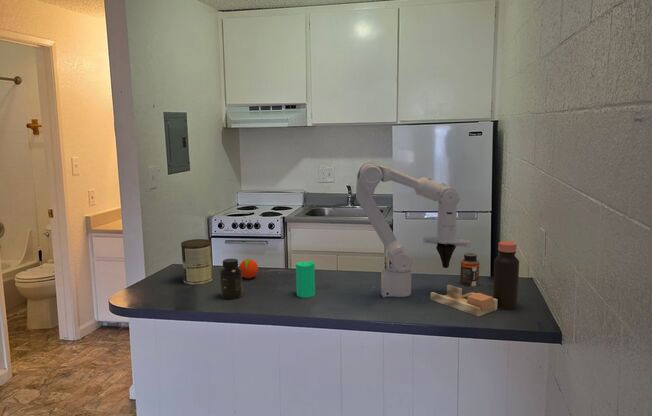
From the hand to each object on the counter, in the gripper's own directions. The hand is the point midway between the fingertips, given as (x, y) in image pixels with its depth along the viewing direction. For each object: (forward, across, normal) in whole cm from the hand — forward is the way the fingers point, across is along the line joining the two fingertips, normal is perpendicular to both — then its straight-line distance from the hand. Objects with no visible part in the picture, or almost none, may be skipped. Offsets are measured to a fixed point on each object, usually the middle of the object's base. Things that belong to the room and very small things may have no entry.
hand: (445, 267), depth 157 cm
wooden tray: (+9, +9, -6) cm, 14 cm away
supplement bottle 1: (+10, -61, -31) cm, 69 cm away
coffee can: (+10, -83, -23) cm, 87 cm away
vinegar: (+10, +19, -4) cm, 22 cm away
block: (+8, +13, -11) cm, 19 cm away
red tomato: (+10, -68, -13) cm, 70 cm away
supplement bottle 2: (+10, +5, +12) cm, 16 cm away
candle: (+10, -41, -19) cm, 46 cm away
